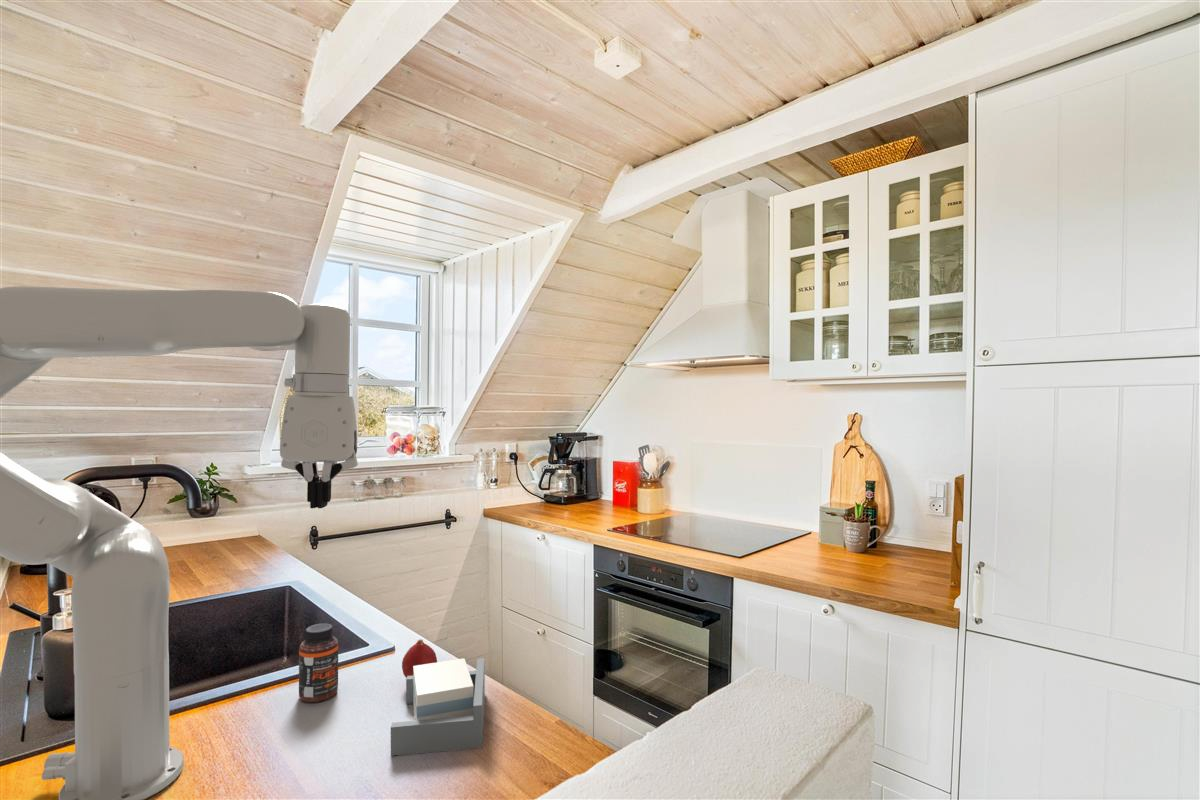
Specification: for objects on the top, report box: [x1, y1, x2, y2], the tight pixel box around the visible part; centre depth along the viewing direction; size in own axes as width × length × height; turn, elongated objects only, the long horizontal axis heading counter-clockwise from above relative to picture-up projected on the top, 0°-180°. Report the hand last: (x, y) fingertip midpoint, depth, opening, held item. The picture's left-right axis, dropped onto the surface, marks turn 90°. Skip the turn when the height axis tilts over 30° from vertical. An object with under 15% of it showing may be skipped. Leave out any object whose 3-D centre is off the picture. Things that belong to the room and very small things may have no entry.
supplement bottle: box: [298, 623, 339, 703], centre depth 100 cm, size 6×6×11 cm
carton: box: [412, 657, 474, 721], centre depth 92 cm, size 8×10×7 cm
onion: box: [401, 638, 438, 679], centre depth 103 cm, size 6×6×8 cm
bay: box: [390, 657, 486, 757], centre depth 92 cm, size 12×15×6 cm
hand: (318, 506), depth 92 cm, fingers closed
